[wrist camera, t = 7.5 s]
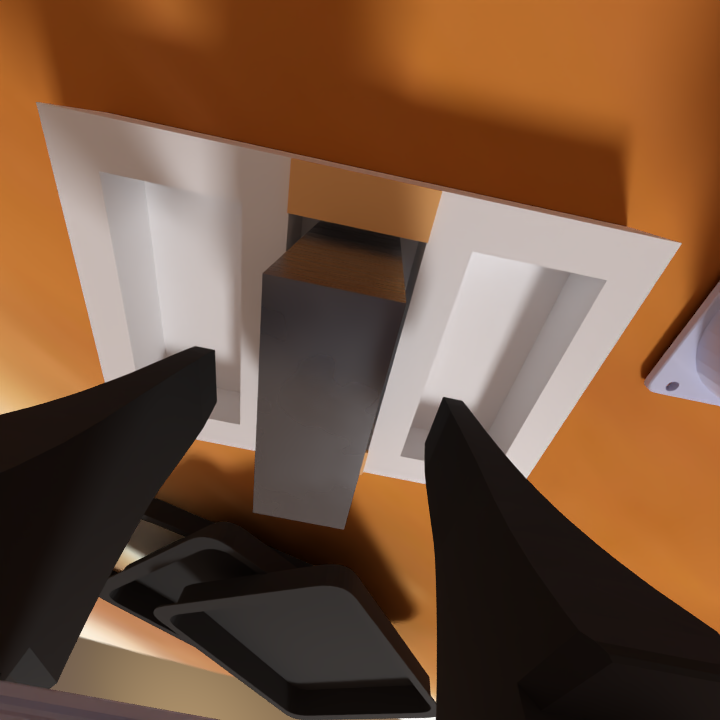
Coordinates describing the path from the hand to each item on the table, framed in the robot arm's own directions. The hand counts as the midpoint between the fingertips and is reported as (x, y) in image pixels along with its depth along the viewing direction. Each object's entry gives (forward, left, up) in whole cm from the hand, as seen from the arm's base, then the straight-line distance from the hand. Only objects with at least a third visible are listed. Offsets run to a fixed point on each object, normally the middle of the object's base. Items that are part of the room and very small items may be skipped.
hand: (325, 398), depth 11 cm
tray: (+1, +24, -6) cm, 25 cm away
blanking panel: (0, 0, -5) cm, 5 cm away
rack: (0, 0, -6) cm, 6 cm away
